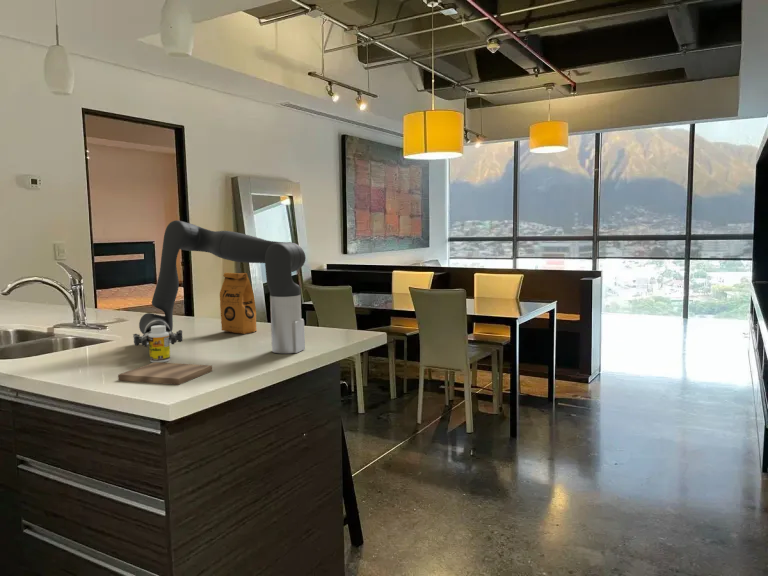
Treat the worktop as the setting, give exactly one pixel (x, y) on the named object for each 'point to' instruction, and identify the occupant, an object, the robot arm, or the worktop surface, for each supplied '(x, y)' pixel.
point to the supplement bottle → (159, 344)
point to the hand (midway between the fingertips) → (159, 342)
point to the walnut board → (165, 373)
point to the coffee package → (237, 304)
